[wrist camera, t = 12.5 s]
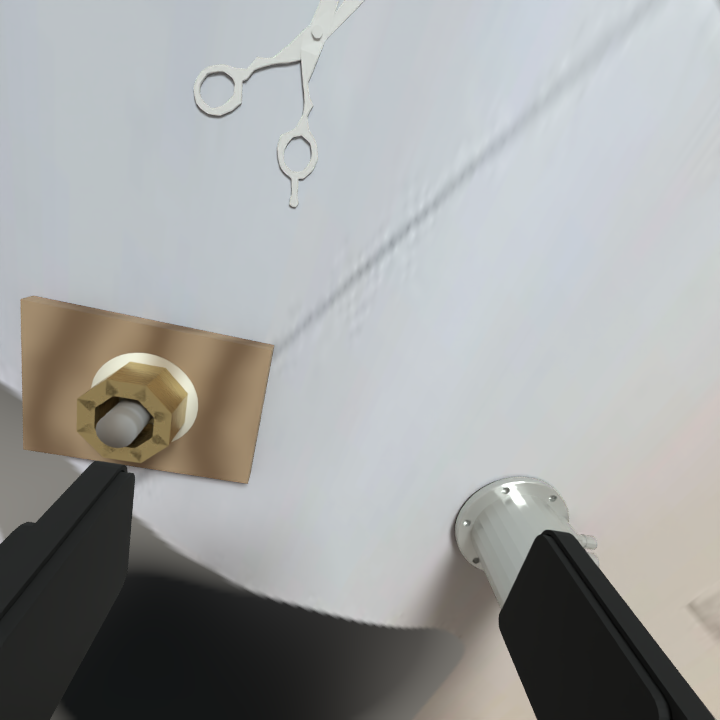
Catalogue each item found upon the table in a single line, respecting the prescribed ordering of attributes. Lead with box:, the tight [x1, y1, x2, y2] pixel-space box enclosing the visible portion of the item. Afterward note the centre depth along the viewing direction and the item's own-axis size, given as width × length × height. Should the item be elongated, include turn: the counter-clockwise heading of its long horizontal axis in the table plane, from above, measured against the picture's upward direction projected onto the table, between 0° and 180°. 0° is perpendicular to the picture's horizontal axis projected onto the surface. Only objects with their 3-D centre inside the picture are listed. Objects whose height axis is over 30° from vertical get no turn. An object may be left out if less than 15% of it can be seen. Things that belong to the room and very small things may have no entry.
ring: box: [77, 362, 188, 463], centre depth 34 cm, size 7×7×4 cm
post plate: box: [21, 296, 274, 484], centre depth 34 cm, size 20×14×7 cm
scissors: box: [194, 0, 364, 207], centre depth 30 cm, size 11×1×20 cm
